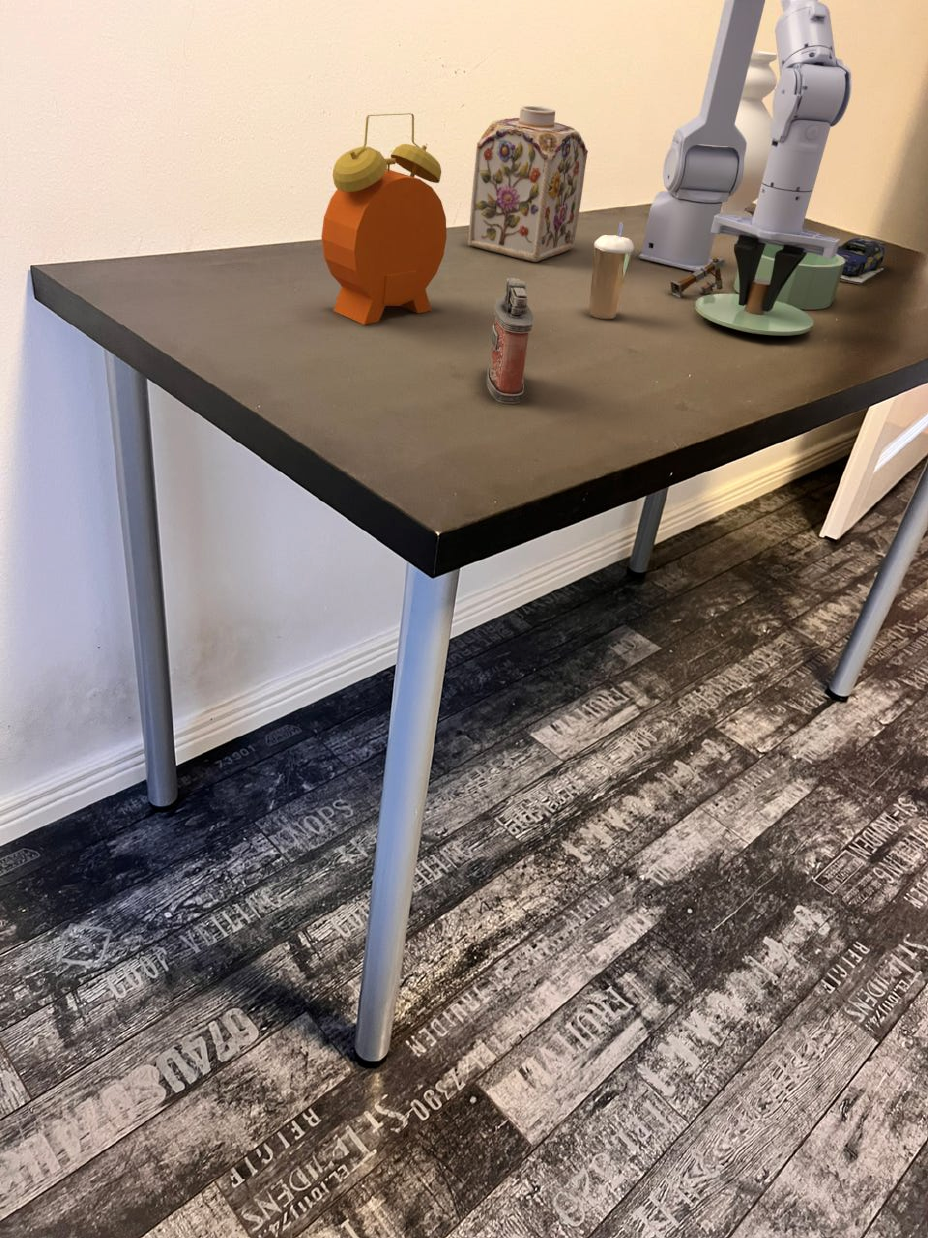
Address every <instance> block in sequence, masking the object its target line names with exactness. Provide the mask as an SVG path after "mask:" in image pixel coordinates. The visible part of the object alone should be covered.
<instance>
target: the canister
mask: <svg viewBox="0 0 928 1238" xmlns="http://www.w3.org/2000/svg"><path fill="white" fill-rule="evenodd" d="M784 242H786V241H784ZM797 245H798V244H797ZM782 249H783V247H780V246H775V245H771V244H766V245H765V248H764V251H763V254H762V256H761V259H760V262H759V265H758V269H757V272H756V275H755V279H764V280H768V281H771V277H772V272H773V266H774V260H775V254H776V252H778V251H779V250H782ZM844 265H845V260H844V258H843V257H841V256H840V255H838V254H836V256H835V257H834V258H832V259H828V258H823V257H822V256H821V255H816V254H812V253H807V254H806V256H805V257H804V259H803V260H802V261H801V262H800V263H799V265H798V266H797V267H796V269H795V270H794V271H793V273H792V274H791V275H790V277H789V278H788V280H787V281H786V283H785V285H784V286H783V288H782V290H781V291H780V293H779V295H778V297H777V299H776V301H778V302H782V303H785V304H788V305H790V306H793V307H795V308H798V309H800V310H802V311H813V310H814V311H815V310H823V309H826V308H829V307H831V306H832V304H833V301H835V297H836V294H837V290H838V288H839V284H840V282H841V281H840V278H841V275H842V272H843V268H844ZM733 289H734V291H735V292H737V294H739V273H738V266H737V267H736V272H735V276H734V281H733Z"/></svg>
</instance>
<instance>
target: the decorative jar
mask: <svg viewBox="0 0 928 1238" xmlns="http://www.w3.org/2000/svg"><path fill="white" fill-rule="evenodd" d="M555 118H556V110H555V109H554V108H552V107H549V106H540V105H539V106H538V105H524V106H521V107H520V113H519V117H512V118H502V119H495V120H493V121H492V122H491V123H490V124H489V126H488V127H487V129H486V130H485V131H484V133H483V134H482V136H481V137H480V139H479V141H478V142H477V143H476V149H475V162H474V171H473V180H472V181H473V182H472V189H471V202H470V214H469V225H468V228H469V229H468V240H467V244H468V246H469V247H473V248H477V249H481V250H484V251H488V252H489V251H490V252H492V253H497V254H501V255H505V256H507V257H511V258H515V259H520V260H523V261H527V262H532V263H538V262H541V261H544V260H546V259H549V258H551V257H554V256H558V255H559V254H563V253H565V252H568V251H570V250H572V249H573V248H574V245H575V241H576V234H577V228H578V223H579V222H578V221H579V215H580V209H581V208H580V207H581V202H582V195H583V187H584V180H585V173H586V165H587V158H588V153H589V150H588V149H587V146H586V144H585V141H584V140H583V138H582V137H581V134H580V132H579V131H578V130H576V129H575V128H574V127H572V126H569V125H565V124H563V123H559V122H557V121H556V119H555ZM555 121H556V122H555Z"/></svg>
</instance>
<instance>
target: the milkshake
mask: <svg viewBox="0 0 928 1238" xmlns="http://www.w3.org/2000/svg"><path fill="white" fill-rule="evenodd" d="M624 225H625V222H619V226H618V230H617V234H613V235H610V234H609V235H608V234H603V235H601V236H599V237H598V238H597V239H596V240H595V241H594V243H593V257H592V271H591V280H590V281H591V282H590V291H589V300H588V301H589V302H588V314H589V315H590V316H591V317H593V318H595V319H599V320H613V319H615V317H616V316H617V312H618V307H619V304H620V299H621V297H622V292H623V288H624V285H625V280H626V276H627V273H628V270H629V266H630V264H631V260H632V256H633V252H634V249H635V245H634V242H633V241H632V240H631V239H630V238H628V237H625V236H622V234H623V230H624Z"/></svg>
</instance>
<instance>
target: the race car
mask: <svg viewBox="0 0 928 1238" xmlns="http://www.w3.org/2000/svg"><path fill="white" fill-rule="evenodd" d="M879 244H880V245H879ZM881 245H882V246H881ZM885 248H886V243H885V242H881V241H878V240H873V239H869V238H865V237H853V238H851V239H849V240H847V241H844V243H842V244H841V245H839V246H838V249H837V253H836V254H838V255H840V256H841V257H843V258H844V260H845V265H844V268H843V272H842V275H841V278H840V281H839V282H843V283H850V284H855V285H862V284H864V283H865V282H867V281H868V280H870V279H872V278H873V277H875V276H876V275H877V274H879V273H880V272H882V271H883V270H885V268H879V267H880V266H881V264H882V263H883V261H884V258H885Z"/></svg>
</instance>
